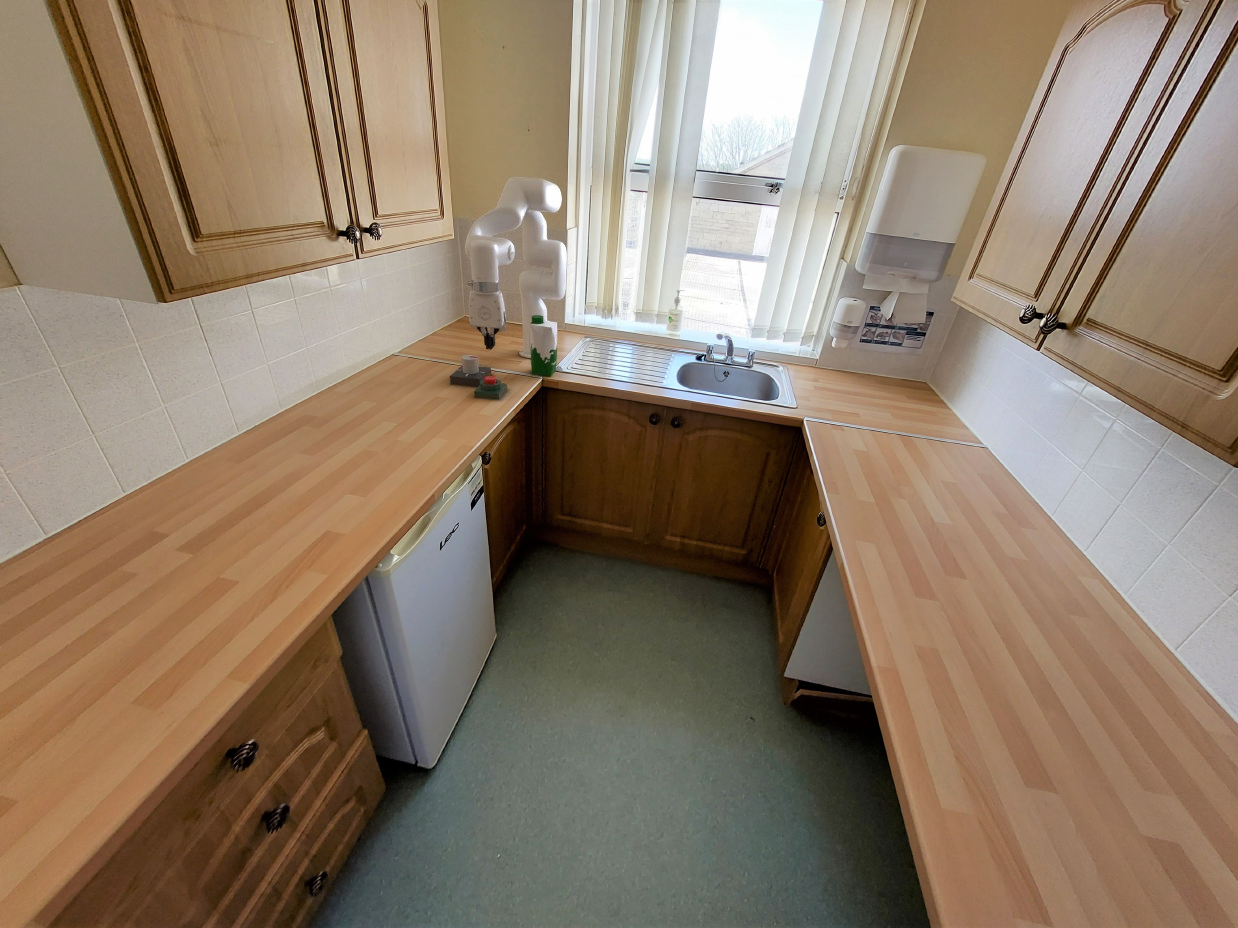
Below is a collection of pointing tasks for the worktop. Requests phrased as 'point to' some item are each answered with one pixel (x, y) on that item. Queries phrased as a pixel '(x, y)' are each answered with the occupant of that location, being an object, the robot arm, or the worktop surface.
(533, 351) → the milk carton
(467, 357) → the dial knob
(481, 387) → the button box
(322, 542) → the worktop surface
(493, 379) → the button
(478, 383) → the dial panel
